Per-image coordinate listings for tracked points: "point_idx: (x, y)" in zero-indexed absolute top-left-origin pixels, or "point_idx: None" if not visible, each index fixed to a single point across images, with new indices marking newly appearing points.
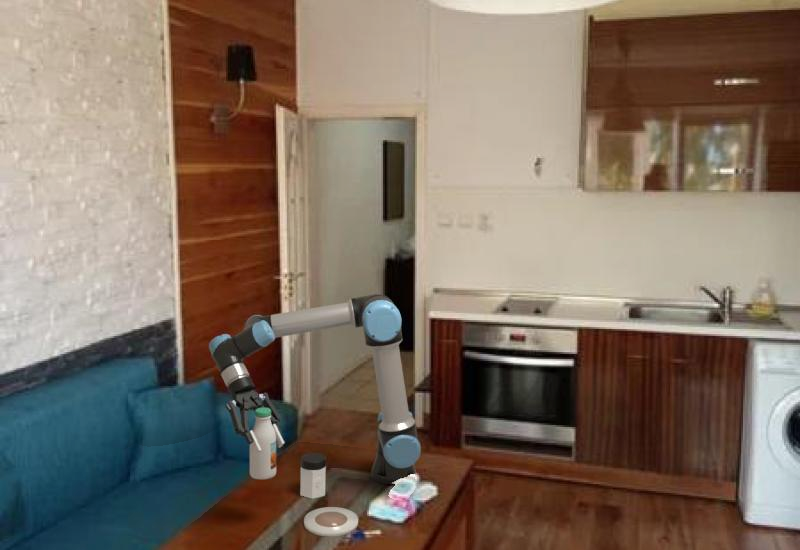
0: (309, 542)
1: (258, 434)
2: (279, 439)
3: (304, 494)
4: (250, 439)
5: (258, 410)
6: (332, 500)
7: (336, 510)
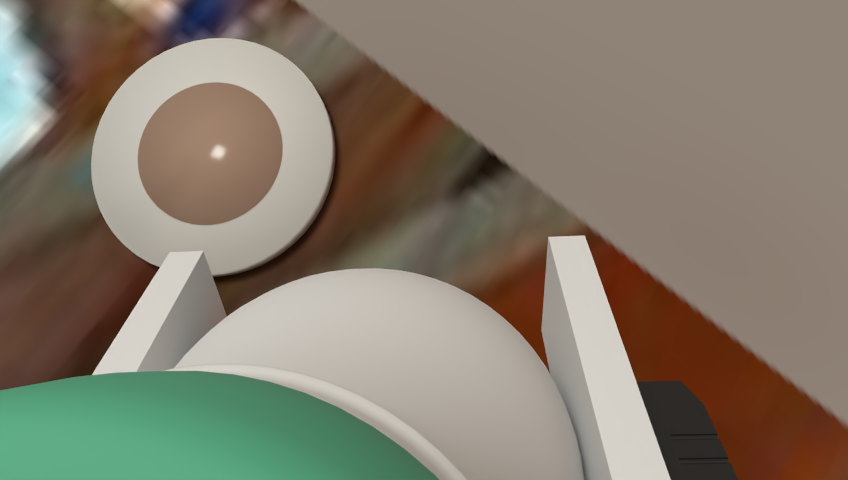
0: (391, 84)
1: (532, 390)
2: (182, 319)
3: None
4: (675, 422)
5: None
6: (62, 333)
7: (134, 205)
